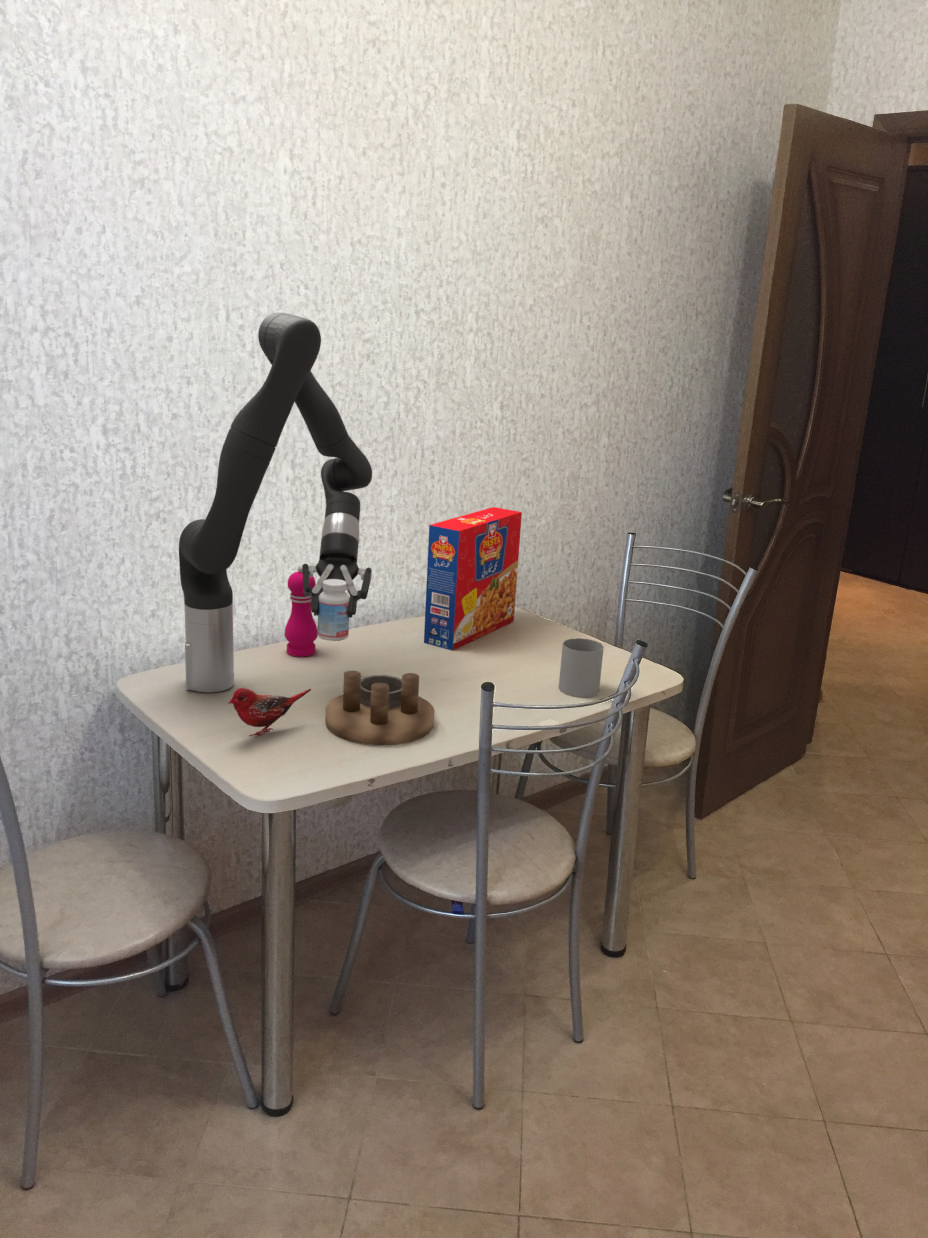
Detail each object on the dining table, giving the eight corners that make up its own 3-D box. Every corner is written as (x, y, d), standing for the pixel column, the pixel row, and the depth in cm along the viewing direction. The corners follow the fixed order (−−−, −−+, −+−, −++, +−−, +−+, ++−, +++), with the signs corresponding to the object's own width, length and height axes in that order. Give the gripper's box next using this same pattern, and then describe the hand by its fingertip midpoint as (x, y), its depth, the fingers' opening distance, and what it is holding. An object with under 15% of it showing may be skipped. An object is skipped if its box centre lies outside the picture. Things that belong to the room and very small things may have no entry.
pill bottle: (343, 643, 197) (345, 588, 194) (313, 639, 198) (314, 584, 195) (352, 634, 203) (354, 580, 200) (323, 630, 204) (324, 576, 201)
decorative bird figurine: (224, 741, 180) (223, 689, 177) (306, 717, 192) (306, 667, 189) (233, 747, 178) (232, 694, 175) (315, 722, 190) (316, 672, 187)
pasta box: (452, 650, 232) (459, 530, 223) (423, 643, 236) (429, 524, 227) (513, 621, 255) (521, 512, 246) (486, 615, 259) (493, 506, 250)
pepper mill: (324, 651, 227) (325, 564, 220) (302, 660, 221) (303, 571, 214) (299, 644, 230) (300, 558, 224) (277, 652, 224) (277, 564, 218)
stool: (330, 747, 180) (330, 697, 177) (321, 702, 199) (322, 657, 196) (443, 743, 185) (445, 694, 182) (424, 699, 204) (426, 654, 201)
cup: (576, 679, 219) (580, 635, 216) (606, 691, 213) (611, 646, 210) (550, 688, 213) (554, 643, 210) (581, 700, 208) (585, 654, 204)
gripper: (302, 528, 201) (294, 603, 194) (375, 533, 202) (370, 608, 195) (305, 548, 208) (297, 621, 200) (375, 552, 209) (370, 625, 201)
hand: (333, 614), depth 197 cm, fingers closed on pill bottle, 6 cm apart
